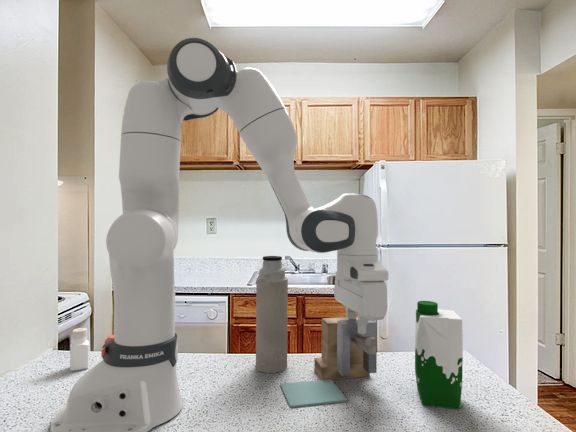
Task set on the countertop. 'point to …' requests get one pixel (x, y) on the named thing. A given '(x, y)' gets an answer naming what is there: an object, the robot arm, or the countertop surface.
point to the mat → (312, 393)
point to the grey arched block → (344, 333)
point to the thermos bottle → (271, 316)
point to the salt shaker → (79, 350)
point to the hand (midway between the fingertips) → (356, 330)
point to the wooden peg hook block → (328, 361)
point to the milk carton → (438, 355)
